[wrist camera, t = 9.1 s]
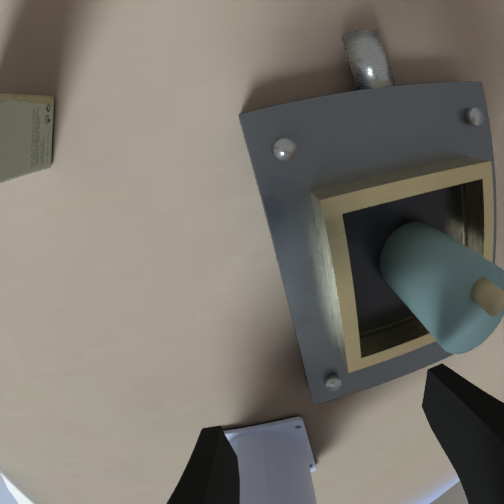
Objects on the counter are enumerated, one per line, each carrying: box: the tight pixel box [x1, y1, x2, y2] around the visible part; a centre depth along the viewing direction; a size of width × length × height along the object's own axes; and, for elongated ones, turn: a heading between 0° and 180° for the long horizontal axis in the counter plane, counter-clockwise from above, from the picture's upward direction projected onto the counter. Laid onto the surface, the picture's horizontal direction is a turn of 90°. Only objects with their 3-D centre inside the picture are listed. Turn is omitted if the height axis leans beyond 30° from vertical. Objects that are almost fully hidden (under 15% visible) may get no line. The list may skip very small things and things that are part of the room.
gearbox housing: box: [239, 30, 496, 405], centre depth 15 cm, size 21×14×4 cm, turn 15°
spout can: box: [380, 221, 504, 354], centre depth 12 cm, size 4×4×7 cm
